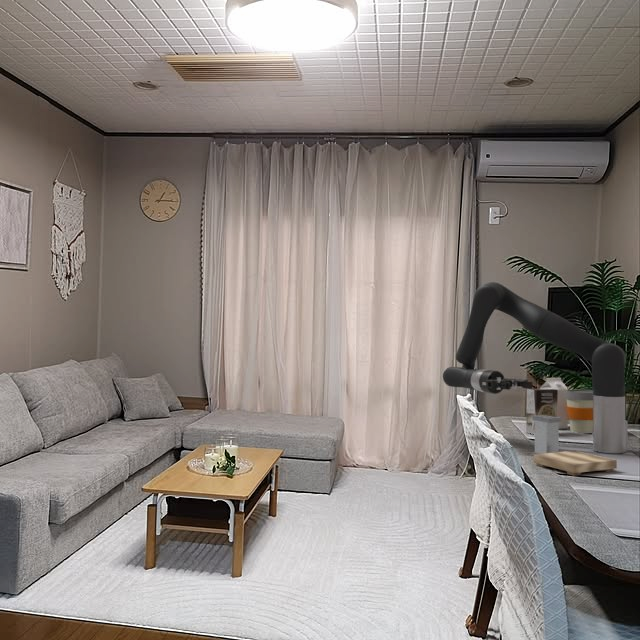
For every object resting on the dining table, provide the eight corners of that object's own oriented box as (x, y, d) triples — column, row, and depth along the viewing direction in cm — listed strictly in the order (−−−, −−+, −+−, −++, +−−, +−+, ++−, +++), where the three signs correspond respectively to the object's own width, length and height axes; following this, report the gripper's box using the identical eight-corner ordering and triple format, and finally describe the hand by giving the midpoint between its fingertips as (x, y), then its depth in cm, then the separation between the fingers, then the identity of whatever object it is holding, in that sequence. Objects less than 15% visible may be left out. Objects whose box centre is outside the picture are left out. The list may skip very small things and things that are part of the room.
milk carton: (539, 427, 262) (540, 377, 262) (554, 426, 265) (554, 376, 265) (553, 429, 256) (553, 378, 256) (567, 428, 259) (567, 378, 259)
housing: (544, 454, 206) (544, 414, 207) (561, 459, 200) (561, 417, 200) (532, 455, 205) (532, 415, 205) (549, 460, 198) (549, 418, 198)
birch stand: (574, 461, 197) (574, 450, 197) (616, 471, 183) (616, 460, 183) (533, 465, 191) (533, 454, 191) (574, 476, 177) (574, 464, 177)
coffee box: (535, 435, 242) (535, 389, 242) (525, 432, 248) (525, 388, 249) (558, 434, 245) (558, 389, 245) (547, 431, 251) (547, 387, 251)
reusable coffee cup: (565, 433, 247) (565, 391, 247) (565, 428, 259) (565, 388, 259) (603, 435, 243) (603, 393, 243) (601, 430, 255) (601, 390, 255)
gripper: (470, 370, 224) (502, 374, 210) (504, 369, 230) (538, 373, 216) (469, 393, 224) (502, 398, 210) (504, 391, 230) (538, 397, 216)
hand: (520, 385), depth 213 cm, fingers open, 8 cm apart
